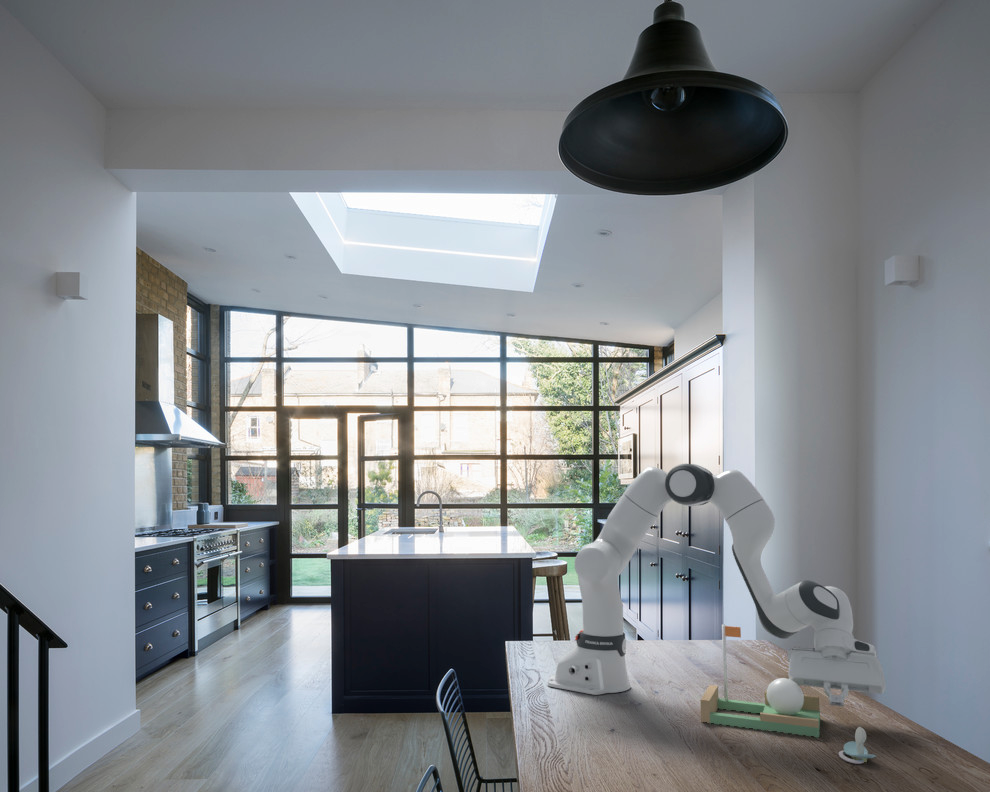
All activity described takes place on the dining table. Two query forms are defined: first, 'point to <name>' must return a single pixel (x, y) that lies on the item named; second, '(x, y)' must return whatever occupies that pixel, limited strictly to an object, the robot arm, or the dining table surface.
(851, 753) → the pacifier
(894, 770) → the dining table surface
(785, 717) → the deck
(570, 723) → the dining table surface
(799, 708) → the ball
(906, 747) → the dining table surface
